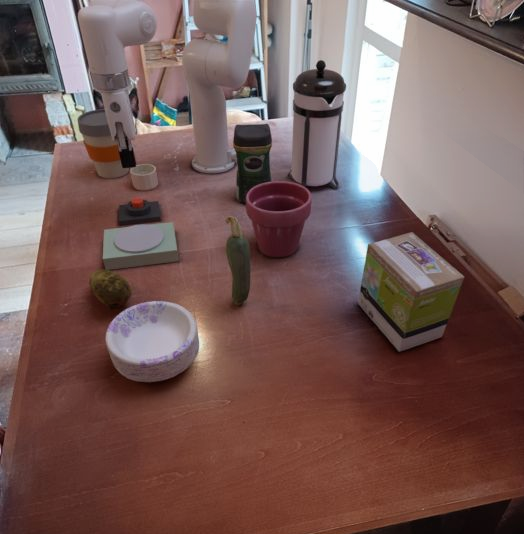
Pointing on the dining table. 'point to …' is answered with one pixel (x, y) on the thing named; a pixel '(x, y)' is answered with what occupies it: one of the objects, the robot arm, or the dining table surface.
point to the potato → (110, 288)
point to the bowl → (144, 177)
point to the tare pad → (139, 213)
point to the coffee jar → (252, 157)
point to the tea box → (408, 290)
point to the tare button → (137, 203)
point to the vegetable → (238, 261)
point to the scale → (139, 245)
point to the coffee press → (316, 126)
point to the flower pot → (278, 215)
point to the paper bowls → (152, 341)
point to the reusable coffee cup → (101, 144)
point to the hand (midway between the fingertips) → (129, 166)
